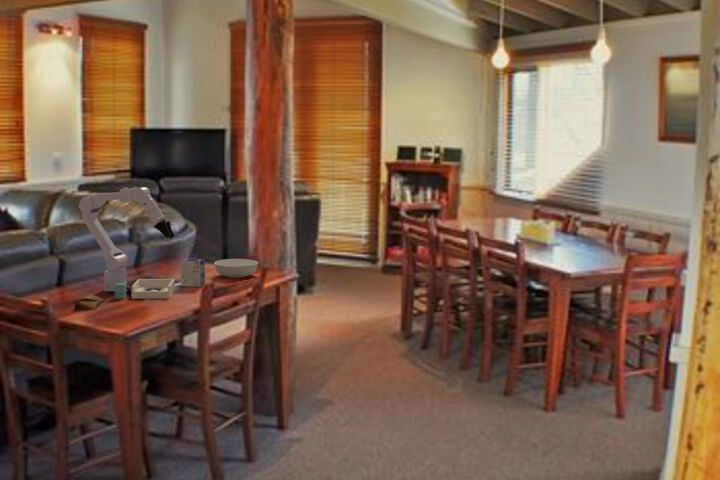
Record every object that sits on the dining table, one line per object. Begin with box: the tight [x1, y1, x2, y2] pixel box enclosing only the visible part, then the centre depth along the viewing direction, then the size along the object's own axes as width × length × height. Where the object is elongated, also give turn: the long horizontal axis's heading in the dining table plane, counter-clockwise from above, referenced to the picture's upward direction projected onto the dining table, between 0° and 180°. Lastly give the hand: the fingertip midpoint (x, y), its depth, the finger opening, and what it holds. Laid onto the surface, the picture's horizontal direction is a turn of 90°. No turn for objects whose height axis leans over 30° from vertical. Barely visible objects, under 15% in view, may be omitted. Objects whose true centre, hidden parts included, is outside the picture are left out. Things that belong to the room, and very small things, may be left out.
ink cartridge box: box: [180, 253, 206, 288], centre depth 396 cm, size 10×6×14 cm, turn 78°
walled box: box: [131, 278, 176, 299], centre depth 379 cm, size 16×16×5 cm
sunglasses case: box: [74, 292, 106, 311], centre depth 359 cm, size 18×7×7 cm
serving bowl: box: [213, 258, 259, 279], centre depth 418 cm, size 21×21×7 cm
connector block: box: [114, 283, 127, 300], centre depth 372 cm, size 4×4×6 cm
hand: (170, 237), depth 376 cm, fingers open, 7 cm apart
